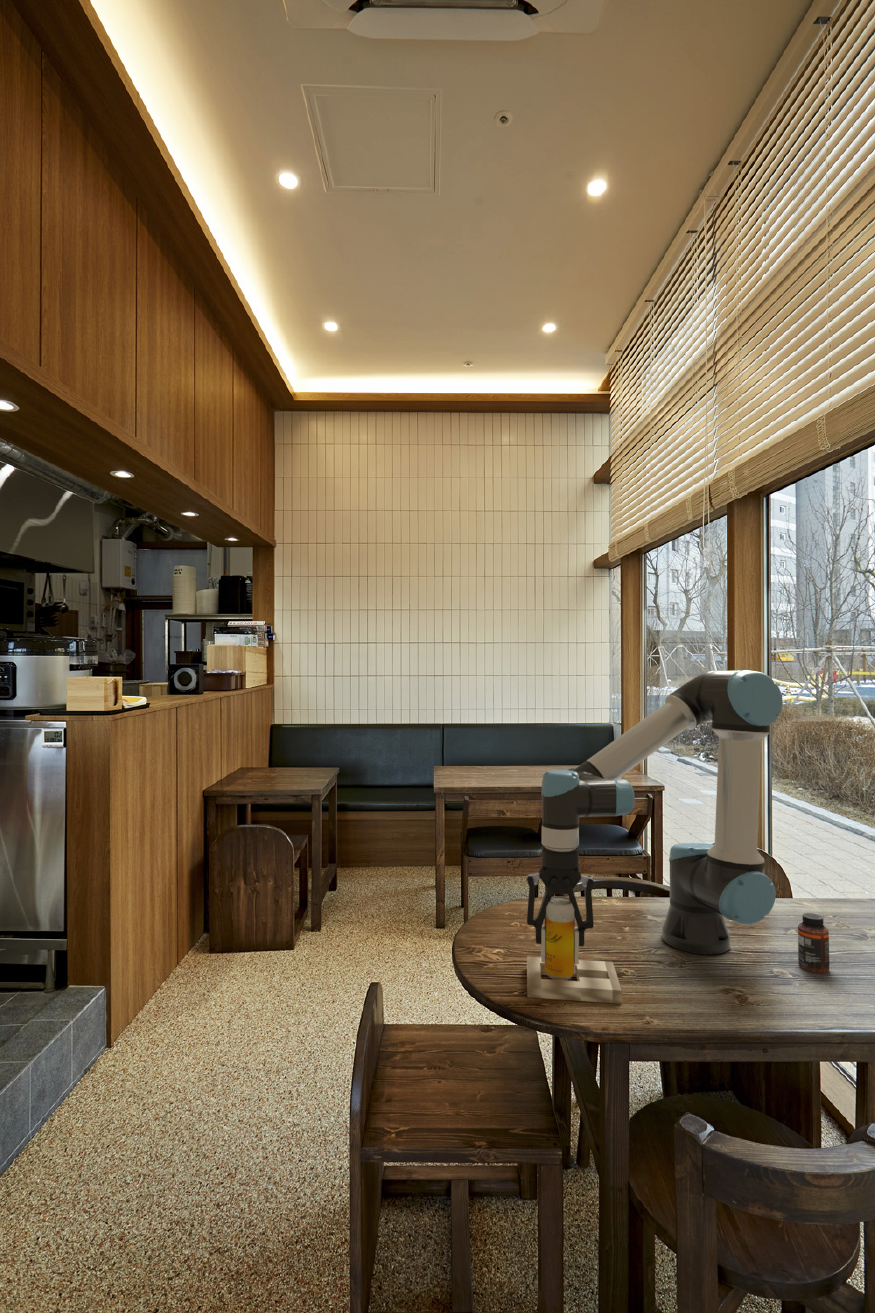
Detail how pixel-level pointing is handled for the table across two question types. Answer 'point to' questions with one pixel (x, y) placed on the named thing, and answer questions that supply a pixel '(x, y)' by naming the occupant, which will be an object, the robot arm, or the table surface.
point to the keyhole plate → (576, 982)
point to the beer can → (560, 939)
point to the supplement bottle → (813, 944)
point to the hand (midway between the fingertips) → (559, 960)
